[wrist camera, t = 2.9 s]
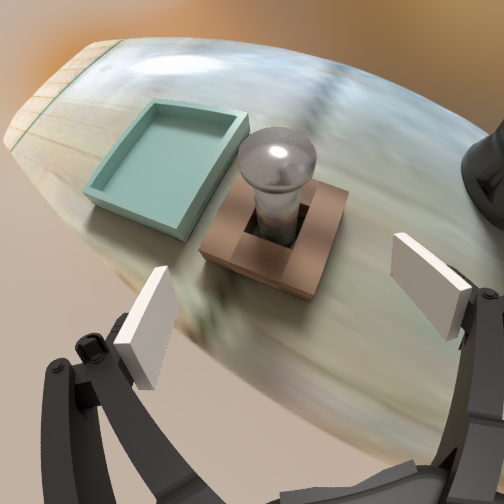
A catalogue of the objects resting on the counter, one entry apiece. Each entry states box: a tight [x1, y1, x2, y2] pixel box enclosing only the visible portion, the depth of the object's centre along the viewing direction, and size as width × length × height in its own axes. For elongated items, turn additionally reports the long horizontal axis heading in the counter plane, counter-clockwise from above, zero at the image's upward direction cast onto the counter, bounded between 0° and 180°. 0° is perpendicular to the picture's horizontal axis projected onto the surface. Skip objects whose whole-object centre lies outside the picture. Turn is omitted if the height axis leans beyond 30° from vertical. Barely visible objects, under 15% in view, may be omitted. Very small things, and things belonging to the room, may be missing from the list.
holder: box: [198, 173, 349, 301], centre depth 30 cm, size 12×12×3 cm
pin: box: [238, 127, 316, 247], centre depth 26 cm, size 6×6×13 cm
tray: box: [81, 98, 250, 242], centre depth 35 cm, size 18×16×4 cm
